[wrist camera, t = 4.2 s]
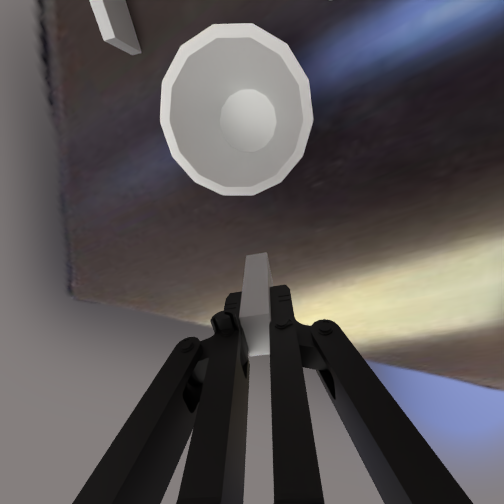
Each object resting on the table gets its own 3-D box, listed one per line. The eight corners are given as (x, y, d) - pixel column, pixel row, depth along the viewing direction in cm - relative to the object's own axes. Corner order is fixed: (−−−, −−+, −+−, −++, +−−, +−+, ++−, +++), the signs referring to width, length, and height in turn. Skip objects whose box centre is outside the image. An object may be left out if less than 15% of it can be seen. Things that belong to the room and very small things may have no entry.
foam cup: (271, 49, 25) (276, -19, 13) (305, 143, 28) (334, 157, 16) (187, 100, 27) (128, 81, 15) (229, 181, 30) (207, 217, 19)
